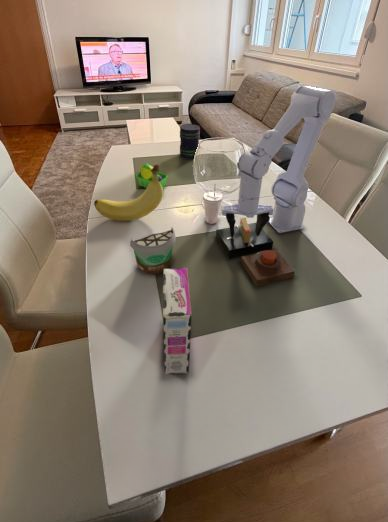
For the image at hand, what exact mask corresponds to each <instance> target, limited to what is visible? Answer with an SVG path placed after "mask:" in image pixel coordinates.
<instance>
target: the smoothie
mask: <svg viewBox="0 0 388 522" xmlns="http://www.w3.org/2000/svg"><path fill="white" fill-rule="evenodd" d="M202 200H203V204H204V205H203V206H204V215H205V222H206V224H210V225H213V224H216V223H217V222H218V217H219V213H220V209H221V204H222V201H223V194H222V193H221V192H218V191H217V184H216V183H214V184H213V190H212V191H210V190H209V191H205V193H203V194H202Z"/></svg>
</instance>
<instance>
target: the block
mask: <svg viewBox="0 0 388 522" xmlns="http://www.w3.org/2000/svg"><path fill="white" fill-rule="evenodd" d="M264 251H265V250H264ZM270 251H273V252H274V253H275V254H276V259H275V263H273V264H266V263H264V262H263V261H262V259H261V257H262V253H263V251H260V252H257V253H253V254H248V255H243V256H241V259H240V264H241V265H242V267H243V269H244V270H245V271H246V273H247V274H248V276H249V278H250V279H251V281H252V282H253V284H254V285H255V287H260V286H264V285H268V284H271V283H272V284H273V283H277V282H280V281H284V280H288V279H293V278H294V277H295V273H296V271H295V270H294V268H293V267H292V266H291V264H289V263H288V261H287V260H286V259H285V258H284V256H282V254H281V253H280V252H279V251H278V249H271V250H270Z"/></svg>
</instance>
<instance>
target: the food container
mask: <svg viewBox="0 0 388 522" xmlns="http://www.w3.org/2000/svg"><path fill="white" fill-rule="evenodd" d="M176 240H177V238H176V233H175V230H174V227H171V229H169V230H166V231H162V232H158V233H152V234H150V235H147V236H144V237H142V238H139V239H135V240H134V239H133V238H131V240H130V241H129V246H130V247H131V249H132V250H133V253H134V257H135V262H136V265H137V268H138V270H140V271H141V272H142V273H144V274H147V275H158V274H163V273H164V269H170V266H171V264H172V256H173V255H172V254H173V246H174V245H175V243H176Z"/></svg>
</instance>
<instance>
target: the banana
mask: <svg viewBox="0 0 388 522" xmlns="http://www.w3.org/2000/svg"><path fill="white" fill-rule="evenodd" d="M152 167H153V169H151V170H150V171H151V172H152V174H153V177H152V181H151V183H150V184H149V186H148V187H147V188H145V190H144V191H143V193H142V194H141V195H139V196H138V197H136V198H134V199H132V200H127V201H115V200H109V199H100V198H99V199H95V200H94V202H93V205H94V207H95V210H96V211H97V213H99V214H100V215H101V216H103V217H104V218H107V219H111V220H113V221H134V220H138V219H142V218H144V217H145V216H148V215H149V214H150V213H152V212H153V211H155V210H156V209H157V208H158V206H159V205H160V204H161V202H162V200H163V195H164V189H163V188H162V186H161V184H160V183H159V181H158V179H157V173H160V165H159V164H154V165H153V166H152Z"/></svg>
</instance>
